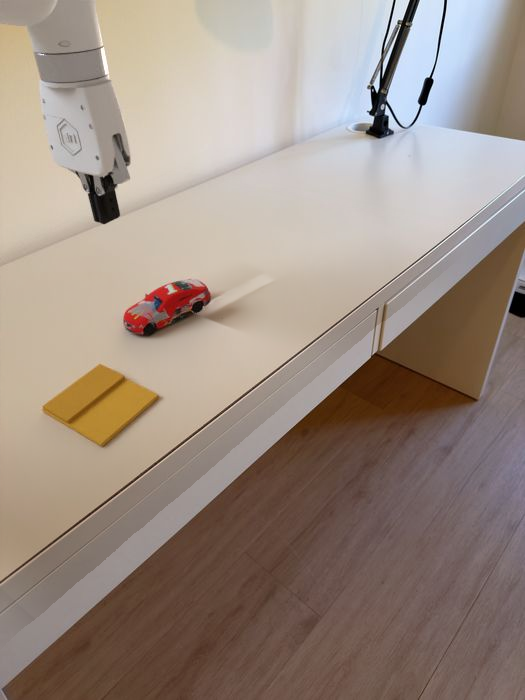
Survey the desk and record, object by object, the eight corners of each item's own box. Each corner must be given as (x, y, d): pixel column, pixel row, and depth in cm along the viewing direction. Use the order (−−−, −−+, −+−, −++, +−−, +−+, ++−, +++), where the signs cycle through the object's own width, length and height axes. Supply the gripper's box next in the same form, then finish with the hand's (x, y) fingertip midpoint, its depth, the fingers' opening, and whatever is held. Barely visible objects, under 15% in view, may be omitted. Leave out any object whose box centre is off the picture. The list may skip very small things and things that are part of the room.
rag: (101, 447, 57) (99, 441, 56) (42, 412, 61) (40, 405, 61) (159, 397, 62) (157, 391, 62) (101, 368, 67) (99, 362, 66)
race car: (135, 343, 71) (129, 319, 68) (118, 325, 74) (111, 301, 72) (217, 306, 77) (214, 282, 74) (197, 290, 80) (194, 268, 78)
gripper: (4, 67, 60) (49, 217, 72) (92, 79, 54) (126, 243, 65) (57, 56, 65) (91, 199, 77) (144, 66, 58) (168, 221, 70)
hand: (107, 219), depth 71 cm, fingers closed
